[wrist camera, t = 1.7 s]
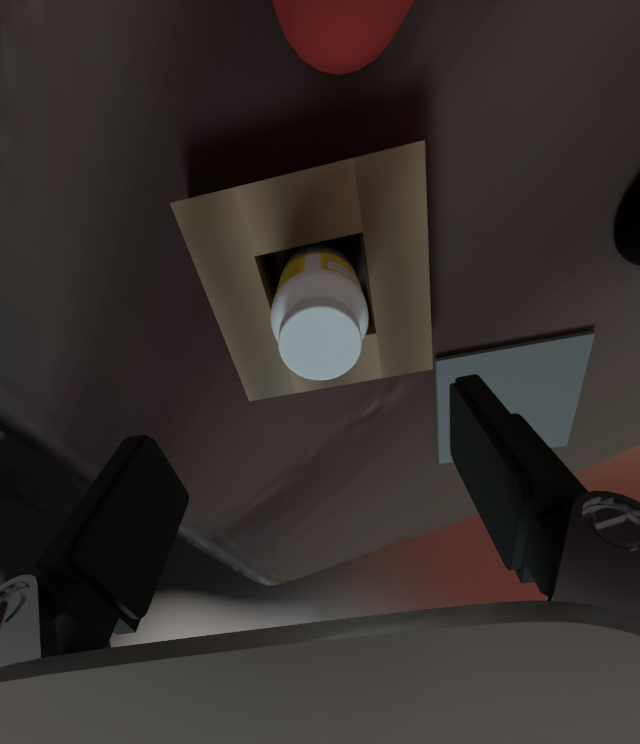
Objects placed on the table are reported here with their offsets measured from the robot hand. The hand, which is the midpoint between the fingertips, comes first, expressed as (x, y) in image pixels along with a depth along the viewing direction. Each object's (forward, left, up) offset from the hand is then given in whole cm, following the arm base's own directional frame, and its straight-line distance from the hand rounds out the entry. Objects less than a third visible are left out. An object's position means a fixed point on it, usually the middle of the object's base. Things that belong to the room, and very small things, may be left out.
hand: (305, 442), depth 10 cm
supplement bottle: (0, 0, -16) cm, 16 cm away
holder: (-1, 0, -16) cm, 16 cm away
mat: (-14, +14, -16) cm, 26 cm away
